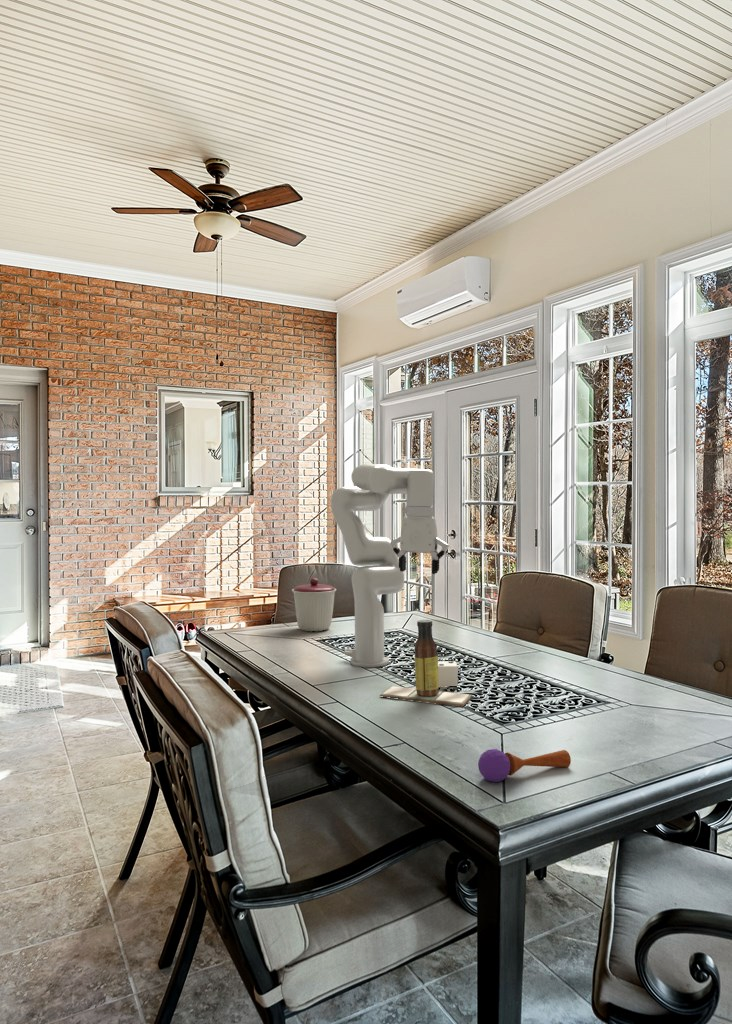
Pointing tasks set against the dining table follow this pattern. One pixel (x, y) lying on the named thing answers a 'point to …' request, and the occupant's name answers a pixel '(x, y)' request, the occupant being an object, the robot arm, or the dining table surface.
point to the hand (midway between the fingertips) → (418, 572)
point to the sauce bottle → (426, 661)
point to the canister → (314, 605)
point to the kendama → (516, 763)
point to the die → (448, 673)
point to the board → (440, 698)
